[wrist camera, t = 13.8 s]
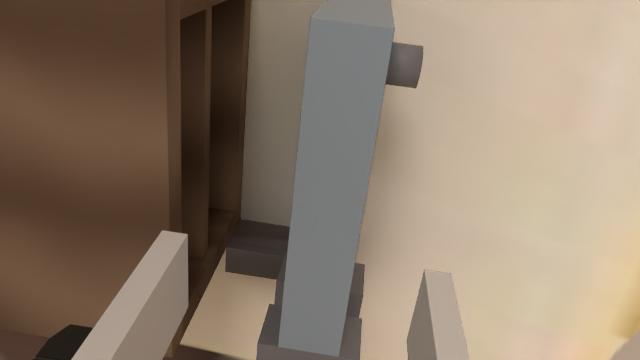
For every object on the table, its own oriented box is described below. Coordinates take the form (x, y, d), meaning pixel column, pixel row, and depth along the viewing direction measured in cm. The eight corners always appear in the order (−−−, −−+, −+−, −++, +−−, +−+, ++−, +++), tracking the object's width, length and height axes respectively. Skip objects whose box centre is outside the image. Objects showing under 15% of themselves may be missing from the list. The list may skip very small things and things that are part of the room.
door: (319, -15, 24) (282, 13, 15) (419, -2, 24) (442, 35, 15) (288, 278, 32) (252, 414, 23) (364, 291, 31) (358, 432, 22)
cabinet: (46, -64, 24) (-237, -64, 13) (384, -21, 24) (389, 18, 12) (80, 234, 32) (-84, 397, 20) (338, 274, 31) (315, 465, 20)
